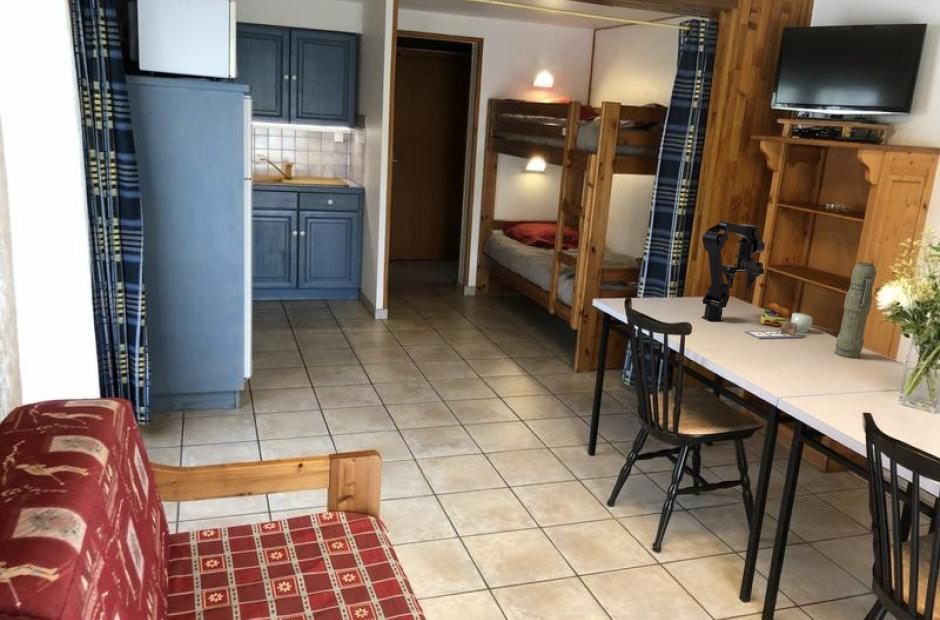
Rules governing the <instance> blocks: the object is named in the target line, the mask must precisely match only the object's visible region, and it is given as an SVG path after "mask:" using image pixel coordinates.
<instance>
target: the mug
mask: <svg viewBox="0 0 940 620" xmlns="http://www.w3.org/2000/svg"><path fill="white" fill-rule="evenodd" d="M813 319H814V317H811V315H810V314H807V313H802V312H793V313H792V315H791V319H790V322H791V323H796V324H797V329H796V334H799V335H801V334H802V335H803V334H809V333H808V332H809V328H812V325H813Z"/></svg>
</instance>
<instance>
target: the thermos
mask: <svg viewBox="0 0 940 620" xmlns="http://www.w3.org/2000/svg"><path fill="white" fill-rule="evenodd" d="M876 275H877V273H876V266H875V265H874V264H873V263H868V262H862V261H861V262H859V263H856V264H855V266H854V268H853V270H852V275H851V277H850V282H849V283H850V286H849V289H848V291H847V292H846V293H845V299H844V302H843V303H844V304H843V310H844V311H843V316H842V321H841V326H840V330H839V333H838V334H837V337H836V341H835V342H836V343H835V351H834V354H836V355H837V356H839V357H843V358H847V359H860V357H861V352H862V351H863V346H864V341H865V338H864V333H865V327H866V324H867V319H868V315H869V314H870V312H871V307H872V301H873V287H874V283H875V278H876Z"/></svg>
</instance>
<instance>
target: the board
mask: <svg viewBox="0 0 940 620" xmlns="http://www.w3.org/2000/svg"><path fill="white" fill-rule="evenodd" d="M744 333H745V334H747V335H749V336H751V337H753V338H756V339H758V340H776V339H777V340H779V339H780V340H782V339H786V338H788V339H804V336H802V335H801V334H799V333H796V334H795V335H794V336H793V335H788V334H783V333H781V330H745V331H744Z"/></svg>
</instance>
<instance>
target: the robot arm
mask: <svg viewBox="0 0 940 620" xmlns="http://www.w3.org/2000/svg"><path fill="white" fill-rule="evenodd" d="M720 232H723V233H720ZM730 233H733V234H736V235H737V236H738V237H741V238H740V239H738V240H737V242H736V243H737V244H739V245H738V250H737V251H738V252H737V254H735V258H736V263H734V265H730V264H723V261H722V260H723V259H722V251H723V250H724V247H725V243H726V242H727V241H728V240H729V235H730ZM701 240H702V245H703V248H704V249H705V251H706V252H707V253H708V262H709V276H710V285H709V286H708V288H707V292H706V294H705V295H704V296H703V298H702V304H703V305H705V309H704V314H703V315H702V316H701V319H704V320H706V321H708V322H723V319H722V317H723V308H726V307H727V305H728V302H729V299H730V292H731V291H730V290H732V288H733V283H734V278H735V277H736V276H737V274H736V273H737V272H740V273H741V272H743V273H745V272H746V290H750V288H751V287H752V284H753V282H754V281H755V280H756V279H757V278H758V277H761V275H764V274H765V269H764V263H763V262H760V261H758V262H754V260H755V259H754V257H753V254H757V253H762V252H763V251H765V248H766V246H765V245H766V244H765V242H764V241H763V237H761V232H760V230H759V227H758V226H757V225H753V224H747V223H740V224H736V223H732V222H729V221H724V220H721V221H719V222H718V223H717V224H715V225H714V226H711V227H710V228H708V229H707V230H706V231H705V232H704V234H703V235H702V237H701ZM724 277H725V279H726V282H724Z"/></svg>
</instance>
